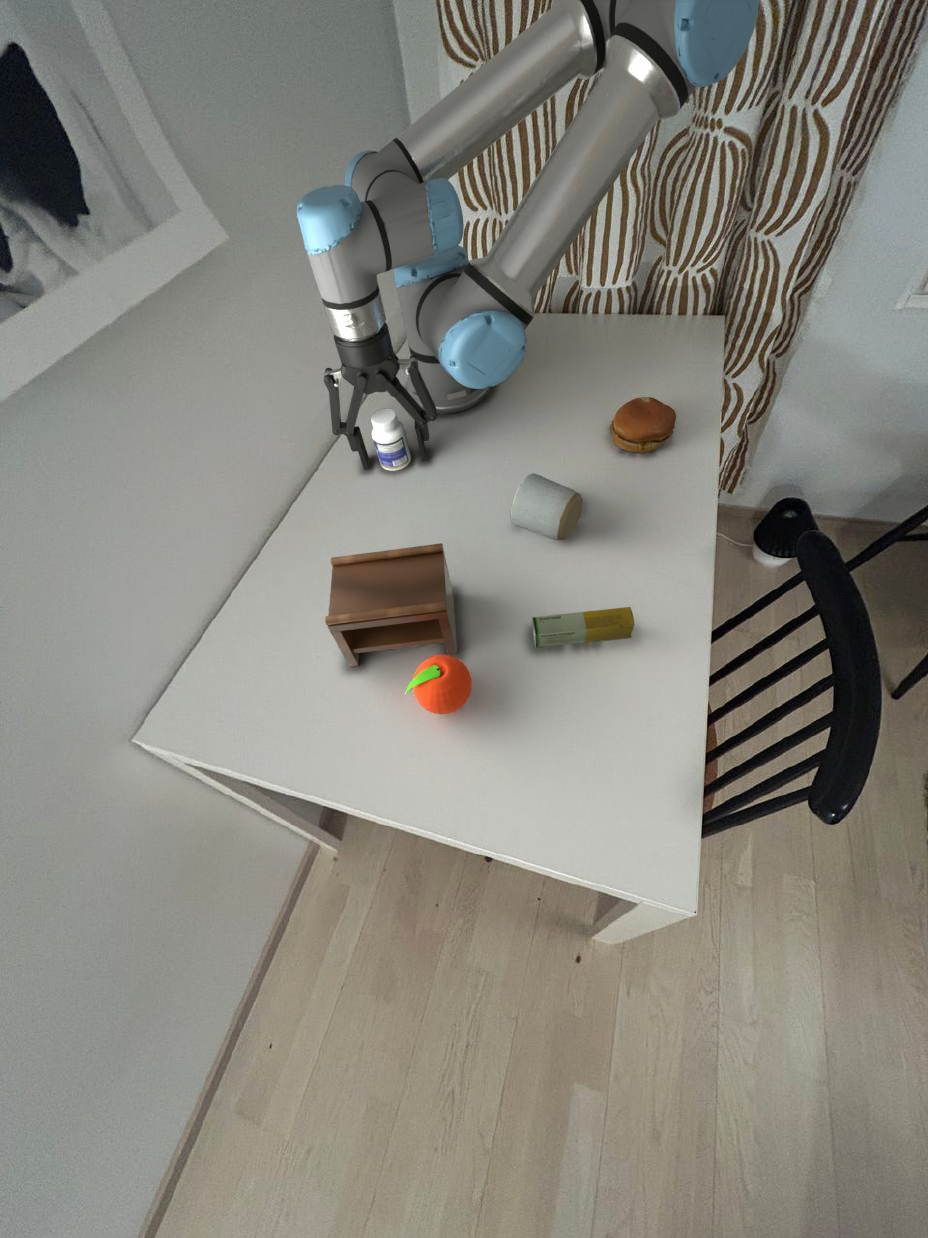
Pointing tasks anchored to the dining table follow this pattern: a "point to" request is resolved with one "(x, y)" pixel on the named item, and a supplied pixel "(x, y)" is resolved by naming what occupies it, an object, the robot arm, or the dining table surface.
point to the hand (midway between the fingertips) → (395, 460)
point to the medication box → (583, 627)
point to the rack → (391, 601)
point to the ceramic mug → (546, 507)
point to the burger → (643, 425)
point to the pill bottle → (390, 440)
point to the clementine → (441, 684)
